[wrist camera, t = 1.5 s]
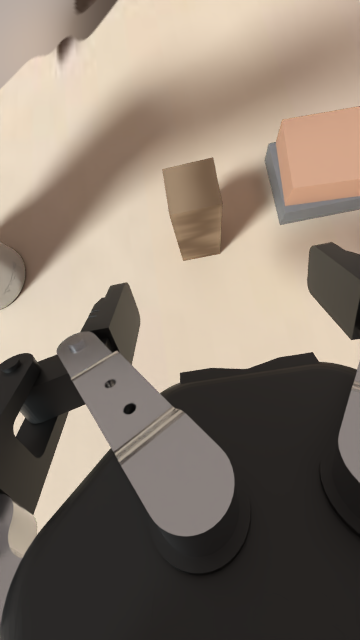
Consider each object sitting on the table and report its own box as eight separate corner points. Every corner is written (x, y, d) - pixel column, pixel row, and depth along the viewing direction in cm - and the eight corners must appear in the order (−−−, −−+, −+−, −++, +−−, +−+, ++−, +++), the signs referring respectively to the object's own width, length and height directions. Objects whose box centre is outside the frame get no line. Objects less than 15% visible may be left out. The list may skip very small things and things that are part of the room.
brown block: (183, 260, 32) (169, 215, 22) (177, 227, 33) (162, 169, 23) (219, 253, 31) (222, 203, 22) (213, 220, 32) (212, 157, 23)
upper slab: (285, 206, 29) (292, 188, 26) (275, 143, 30) (282, 119, 27) (362, 195, 28) (380, 176, 25) (349, 131, 29) (364, 105, 26)
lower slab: (278, 227, 32) (285, 213, 29) (263, 163, 33) (268, 143, 30) (356, 211, 31) (371, 195, 28) (337, 146, 32) (349, 124, 29)
